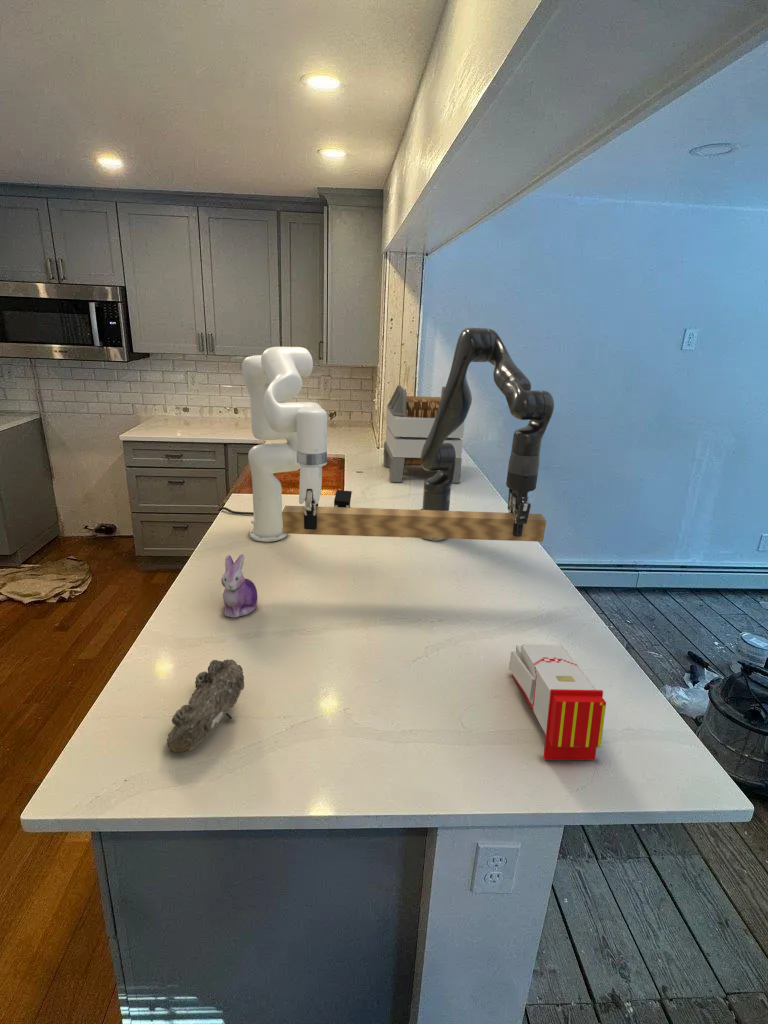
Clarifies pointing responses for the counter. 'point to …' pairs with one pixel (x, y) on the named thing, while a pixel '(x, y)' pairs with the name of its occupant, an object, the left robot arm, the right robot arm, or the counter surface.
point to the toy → (560, 700)
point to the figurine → (237, 589)
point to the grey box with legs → (413, 432)
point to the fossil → (206, 705)
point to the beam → (413, 523)
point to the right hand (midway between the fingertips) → (514, 531)
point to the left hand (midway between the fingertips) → (311, 524)
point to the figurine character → (342, 499)
